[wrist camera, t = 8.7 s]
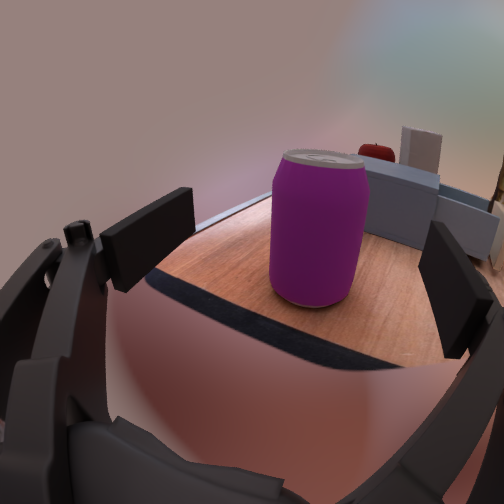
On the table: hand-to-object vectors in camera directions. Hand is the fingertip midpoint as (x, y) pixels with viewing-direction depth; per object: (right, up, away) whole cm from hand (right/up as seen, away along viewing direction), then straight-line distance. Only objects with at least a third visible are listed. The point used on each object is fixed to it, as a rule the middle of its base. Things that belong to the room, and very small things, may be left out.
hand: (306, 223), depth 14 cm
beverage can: (+3, -5, +11) cm, 13 cm away
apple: (+28, +16, +49) cm, 58 cm away
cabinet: (+18, +4, +27) cm, 32 cm away
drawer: (+30, 0, +18) cm, 35 cm away
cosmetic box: (+34, +11, +41) cm, 55 cm away
